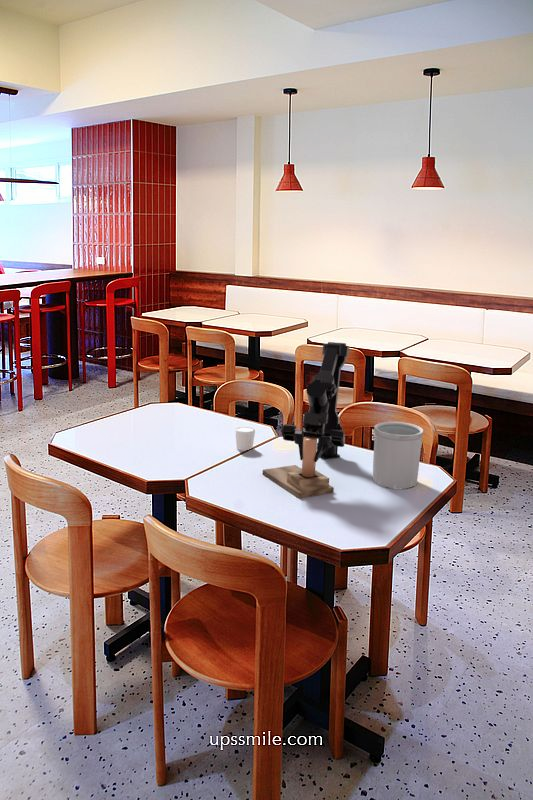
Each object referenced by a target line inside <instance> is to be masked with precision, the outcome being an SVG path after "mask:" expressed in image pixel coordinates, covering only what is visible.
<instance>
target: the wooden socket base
mask: <svg viewBox="0 0 533 800" xmlns="http://www.w3.org/2000/svg"><path fill="white" fill-rule="evenodd" d="M264 475H265V476H264ZM262 476H264V477H266V478H267V477H268V479H269V480H270V481H272V482H273V483H275V484H277V485H278V486H279V487H281V488H283V489H284V490H286V492H289V493H290V494H292V495H293V496H294V497H296V498H298V499H303V498H310V497H314V496H321V495H327V494H333V493H334V491H335V488H334V487H335V486H334V487H333V486H332V485H330V477H328V476H326V475H324V474H323V473H321V472H319V471H317V470H316V469H315V476H313V477H305V476H303V475H302V467H299V466H298V465H295V464H293V465H292V464H291V465H286V466H280V467H279V466H277V467H274V468H272V467H271V468H266V469H262Z"/></svg>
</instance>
